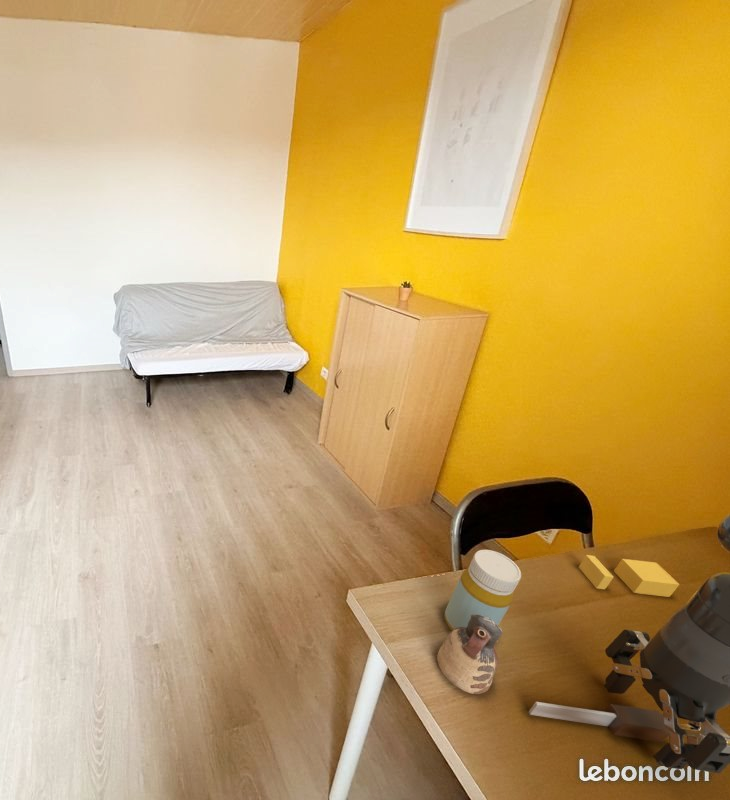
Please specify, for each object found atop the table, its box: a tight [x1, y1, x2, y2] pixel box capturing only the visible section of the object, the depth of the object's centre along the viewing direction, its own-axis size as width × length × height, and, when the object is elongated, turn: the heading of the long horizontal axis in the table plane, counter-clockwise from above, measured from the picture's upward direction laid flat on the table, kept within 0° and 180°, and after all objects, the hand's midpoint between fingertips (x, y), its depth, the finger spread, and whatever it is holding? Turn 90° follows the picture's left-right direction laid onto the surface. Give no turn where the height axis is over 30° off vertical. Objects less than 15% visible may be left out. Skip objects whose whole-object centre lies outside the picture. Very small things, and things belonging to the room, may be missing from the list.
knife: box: [528, 701, 670, 743], centre depth 57 cm, size 16×2×4 cm, turn 82°
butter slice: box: [578, 554, 614, 590], centre depth 79 cm, size 2×5×4 cm, turn 173°
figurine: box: [436, 614, 504, 695], centre depth 61 cm, size 7×7×12 cm
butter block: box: [613, 558, 680, 598], centre depth 78 cm, size 6×5×4 cm
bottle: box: [443, 549, 522, 632], centre depth 67 cm, size 7×7×15 cm
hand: (636, 723), depth 56 cm, fingers open, 8 cm apart
